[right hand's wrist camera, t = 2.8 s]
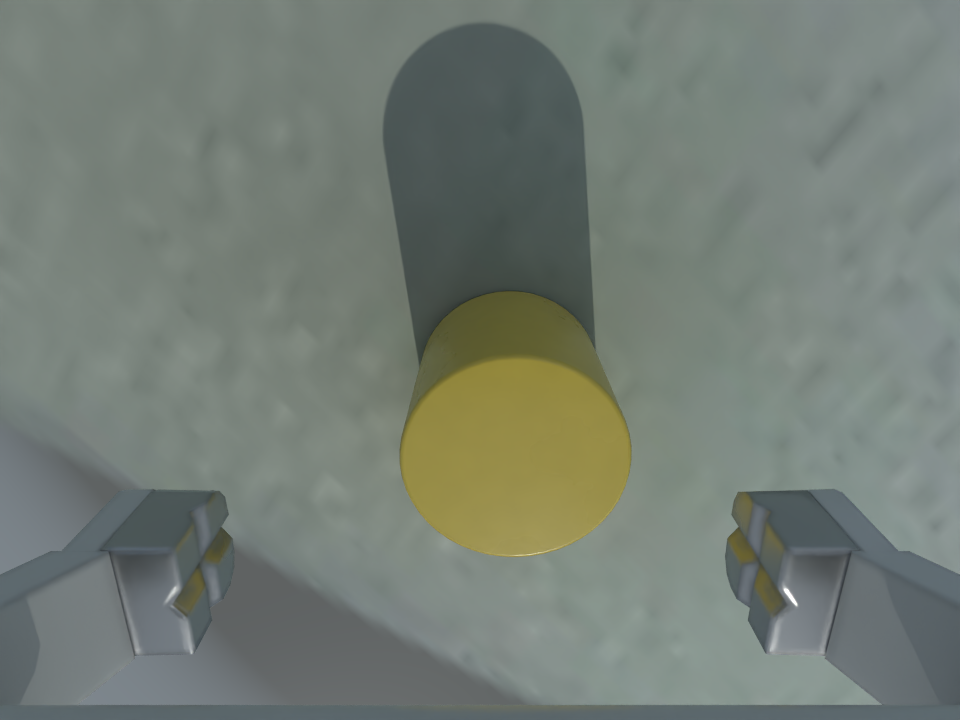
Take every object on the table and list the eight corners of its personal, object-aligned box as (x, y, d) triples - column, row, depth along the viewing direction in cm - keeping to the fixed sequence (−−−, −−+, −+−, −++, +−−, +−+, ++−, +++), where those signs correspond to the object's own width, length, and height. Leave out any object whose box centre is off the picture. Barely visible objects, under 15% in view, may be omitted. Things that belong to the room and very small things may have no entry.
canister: (621, 416, 17) (663, 515, 13) (465, 475, 18) (458, 586, 14) (558, 261, 16) (583, 317, 12) (390, 332, 16) (358, 409, 12)
